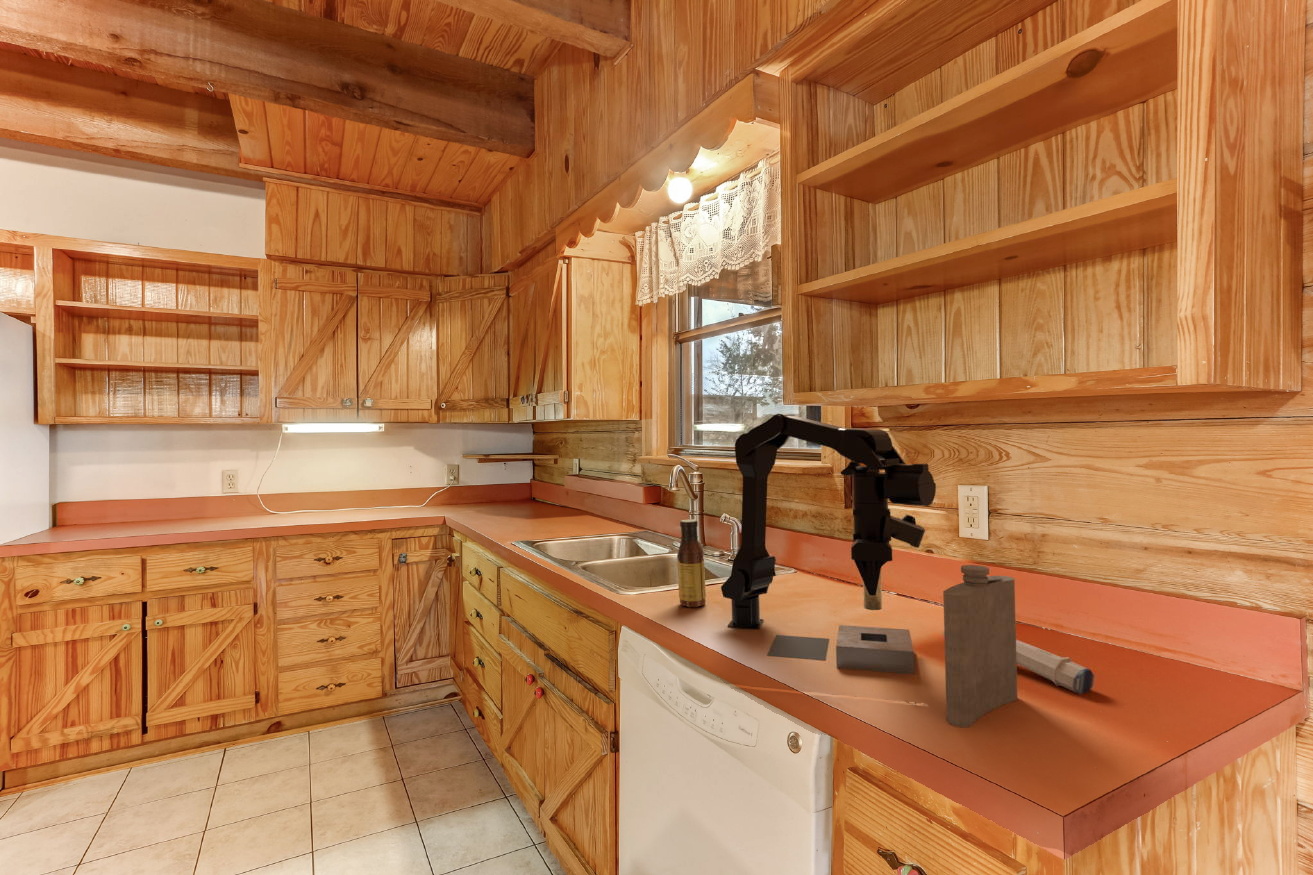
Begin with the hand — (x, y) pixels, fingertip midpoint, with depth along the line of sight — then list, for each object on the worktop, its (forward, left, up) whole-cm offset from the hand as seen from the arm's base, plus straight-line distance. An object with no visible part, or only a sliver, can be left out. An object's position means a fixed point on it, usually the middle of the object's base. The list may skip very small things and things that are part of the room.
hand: (872, 592), depth 110 cm
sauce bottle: (-28, -40, -12) cm, 50 cm away
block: (0, 0, -12) cm, 12 cm away
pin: (0, 0, -3) cm, 3 cm away
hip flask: (+16, +14, -12) cm, 24 cm away
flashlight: (-3, +21, -12) cm, 25 cm away
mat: (-3, -13, -12) cm, 18 cm away
